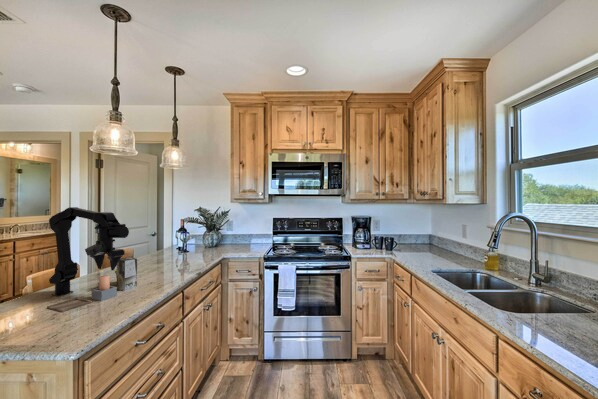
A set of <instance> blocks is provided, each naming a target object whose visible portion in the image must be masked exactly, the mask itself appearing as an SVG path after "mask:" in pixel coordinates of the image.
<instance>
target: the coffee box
mask: <svg viewBox="0 0 598 399" xmlns="http://www.w3.org/2000/svg"><path fill="white" fill-rule="evenodd" d="M116 269H117V278H116V287H117V290H118V289H119V290H121V291H123V292H127V291H131V290H134V289H138V258H136V257H131V256H128V257H121V258H120V260H119V261H118V263H117V265H116Z"/></svg>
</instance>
